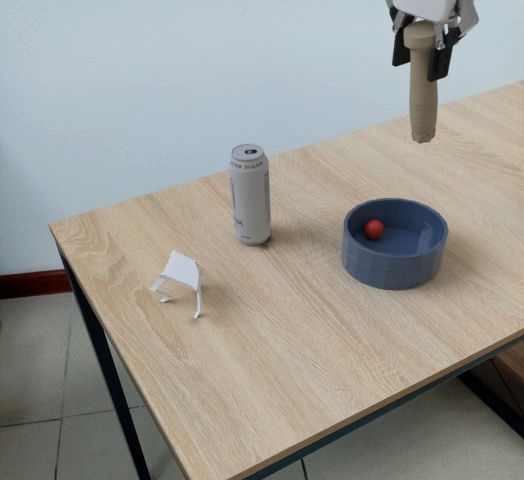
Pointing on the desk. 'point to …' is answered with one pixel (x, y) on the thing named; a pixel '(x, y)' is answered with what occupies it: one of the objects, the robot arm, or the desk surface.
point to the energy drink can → (250, 193)
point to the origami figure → (181, 276)
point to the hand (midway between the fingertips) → (419, 70)
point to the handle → (421, 81)
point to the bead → (374, 229)
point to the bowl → (394, 243)
